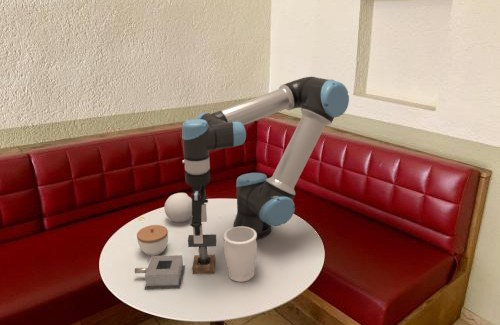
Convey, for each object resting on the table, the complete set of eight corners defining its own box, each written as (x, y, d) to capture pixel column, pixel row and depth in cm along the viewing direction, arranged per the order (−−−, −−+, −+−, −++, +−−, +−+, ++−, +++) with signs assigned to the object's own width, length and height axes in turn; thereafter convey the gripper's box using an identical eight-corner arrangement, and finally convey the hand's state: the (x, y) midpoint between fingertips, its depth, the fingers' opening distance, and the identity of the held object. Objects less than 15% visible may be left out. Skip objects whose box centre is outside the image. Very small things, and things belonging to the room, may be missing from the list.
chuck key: (217, 264, 129) (216, 234, 125) (217, 269, 126) (215, 238, 122) (191, 265, 128) (188, 235, 124) (190, 270, 126) (187, 239, 122)
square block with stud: (185, 266, 128) (184, 254, 126) (180, 288, 117) (178, 275, 116) (140, 268, 127) (138, 255, 126) (131, 289, 117) (129, 276, 115)
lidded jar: (162, 261, 131) (159, 237, 128) (133, 257, 133) (130, 234, 130) (174, 244, 141) (171, 222, 138) (147, 241, 143) (144, 219, 140)
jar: (246, 288, 117) (245, 247, 111) (219, 277, 122) (216, 237, 117) (263, 270, 125) (263, 231, 120) (237, 261, 130) (236, 222, 125)
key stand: (215, 260, 131) (214, 254, 130) (213, 273, 124) (213, 267, 123) (195, 261, 130) (194, 255, 130) (192, 274, 124) (192, 267, 123)
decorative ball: (200, 219, 158) (199, 193, 154) (178, 230, 150) (175, 203, 146) (182, 211, 166) (180, 186, 162) (160, 221, 157) (157, 195, 153)
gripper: (190, 157, 127) (193, 213, 134) (178, 187, 103) (183, 253, 110) (212, 156, 127) (214, 213, 134) (206, 186, 103) (209, 253, 111)
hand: (200, 231), depth 122 cm, fingers open, 13 cm apart
